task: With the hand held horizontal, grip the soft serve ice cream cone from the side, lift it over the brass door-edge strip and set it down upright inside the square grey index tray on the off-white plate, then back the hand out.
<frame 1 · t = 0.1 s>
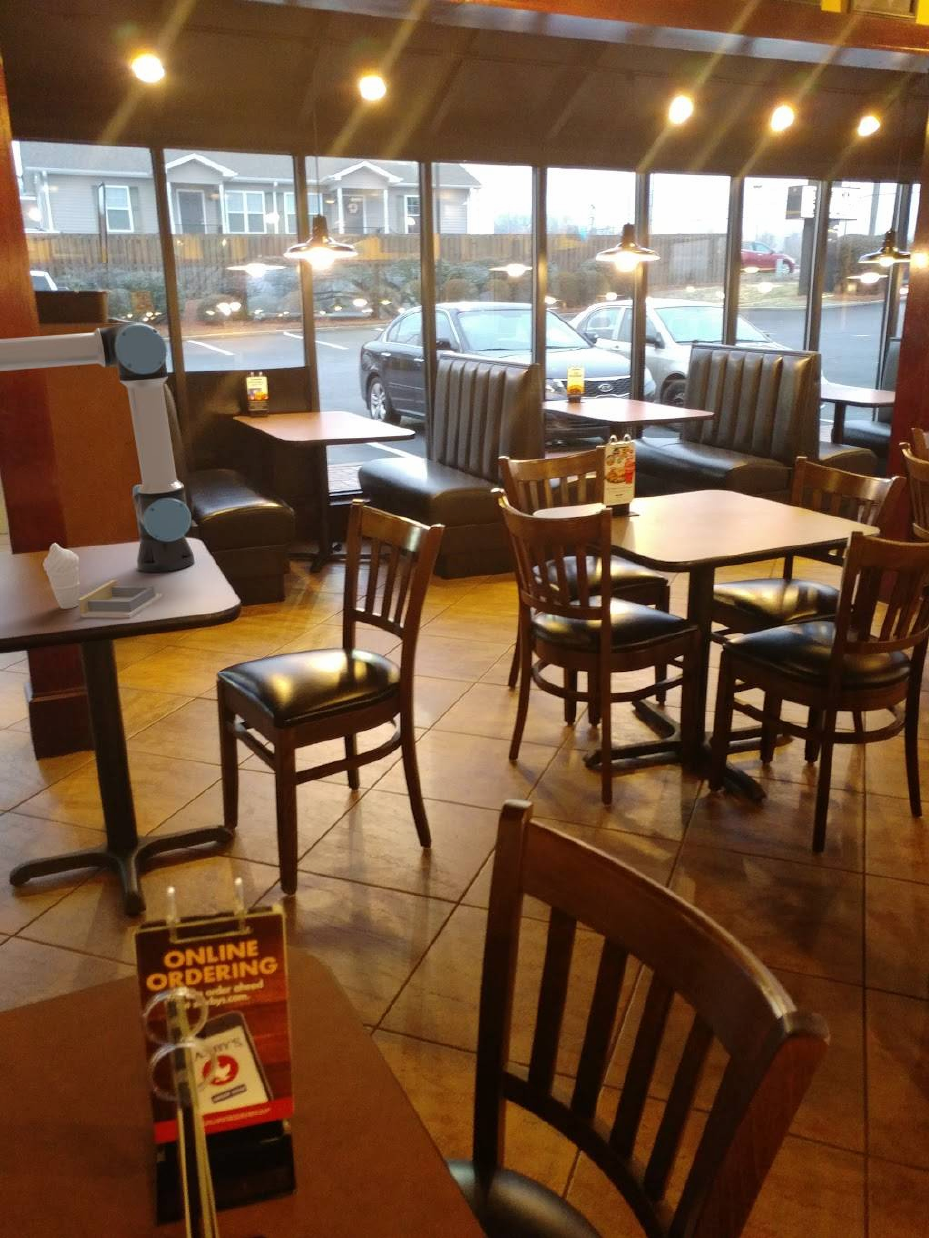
soft serve ice cream cone: (69, 606, 249), on the table
jamb plate: (121, 606, 247), on the table
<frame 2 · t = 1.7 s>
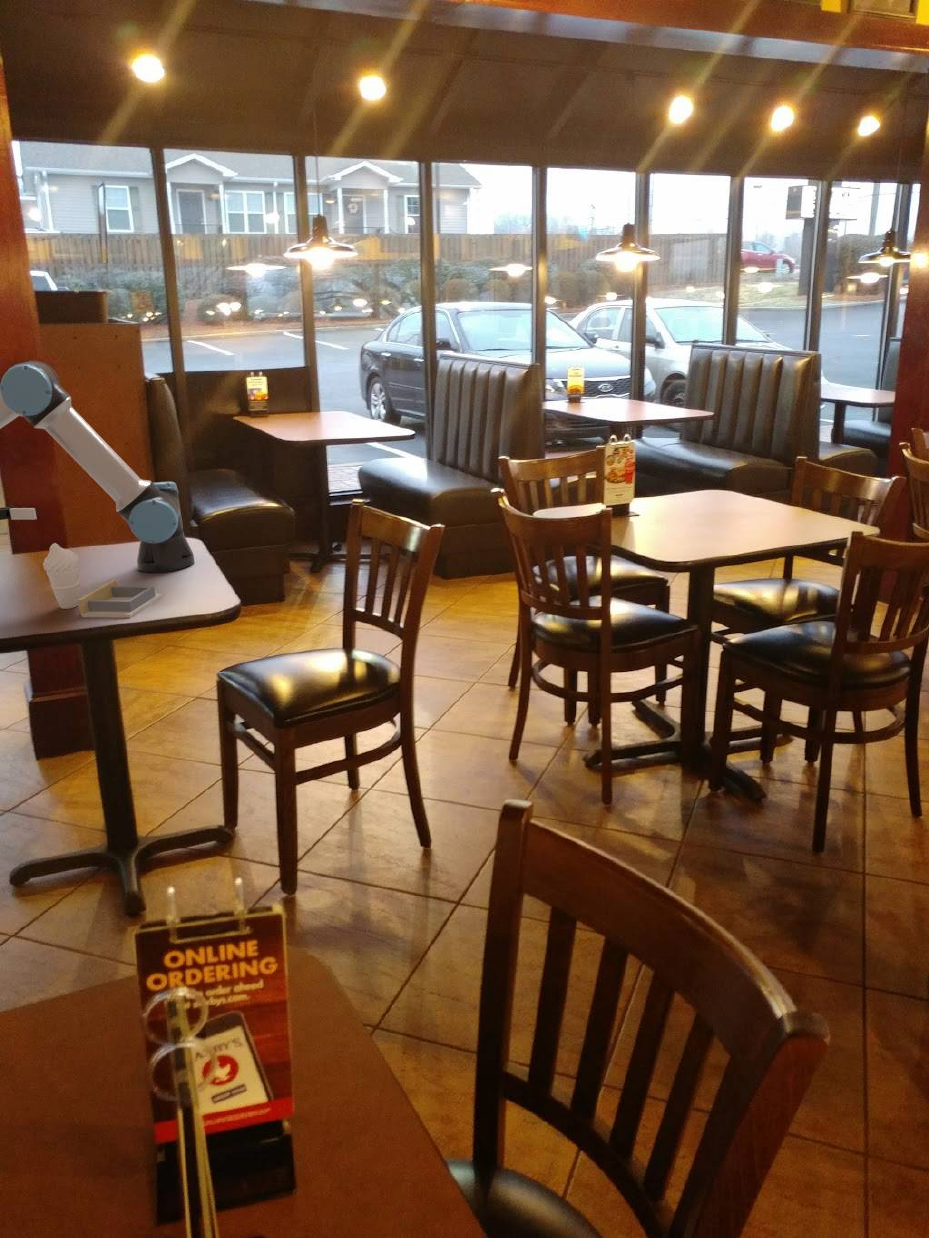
hand: (18, 520, 244), 22 cm above the table, tool horizontal, fingers open, 13 cm apart
nothing on the table moved.
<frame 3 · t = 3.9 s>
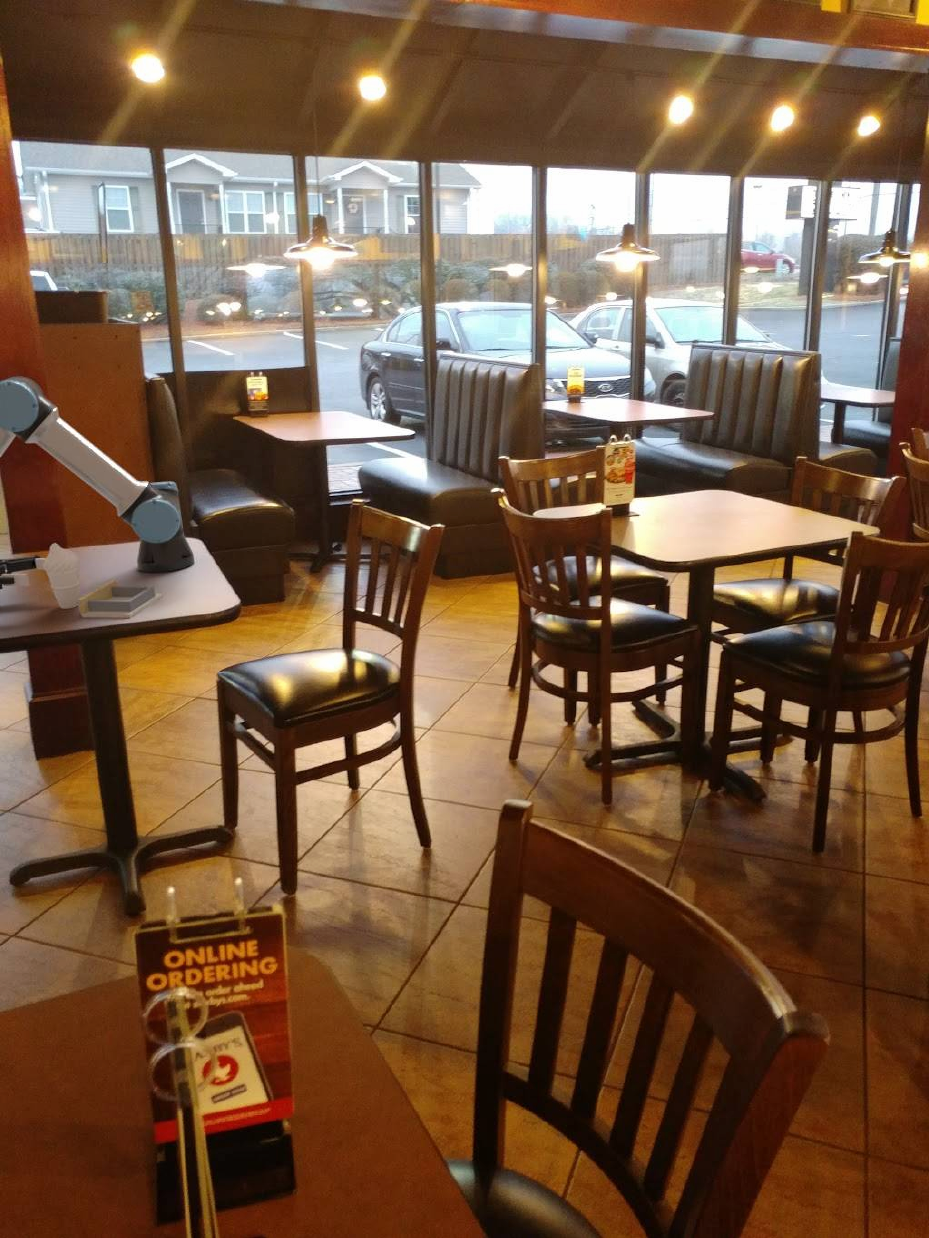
hand: (44, 571, 247), 9 cm above the table, tool horizontal, fingers open, 13 cm apart
nothing on the table moved.
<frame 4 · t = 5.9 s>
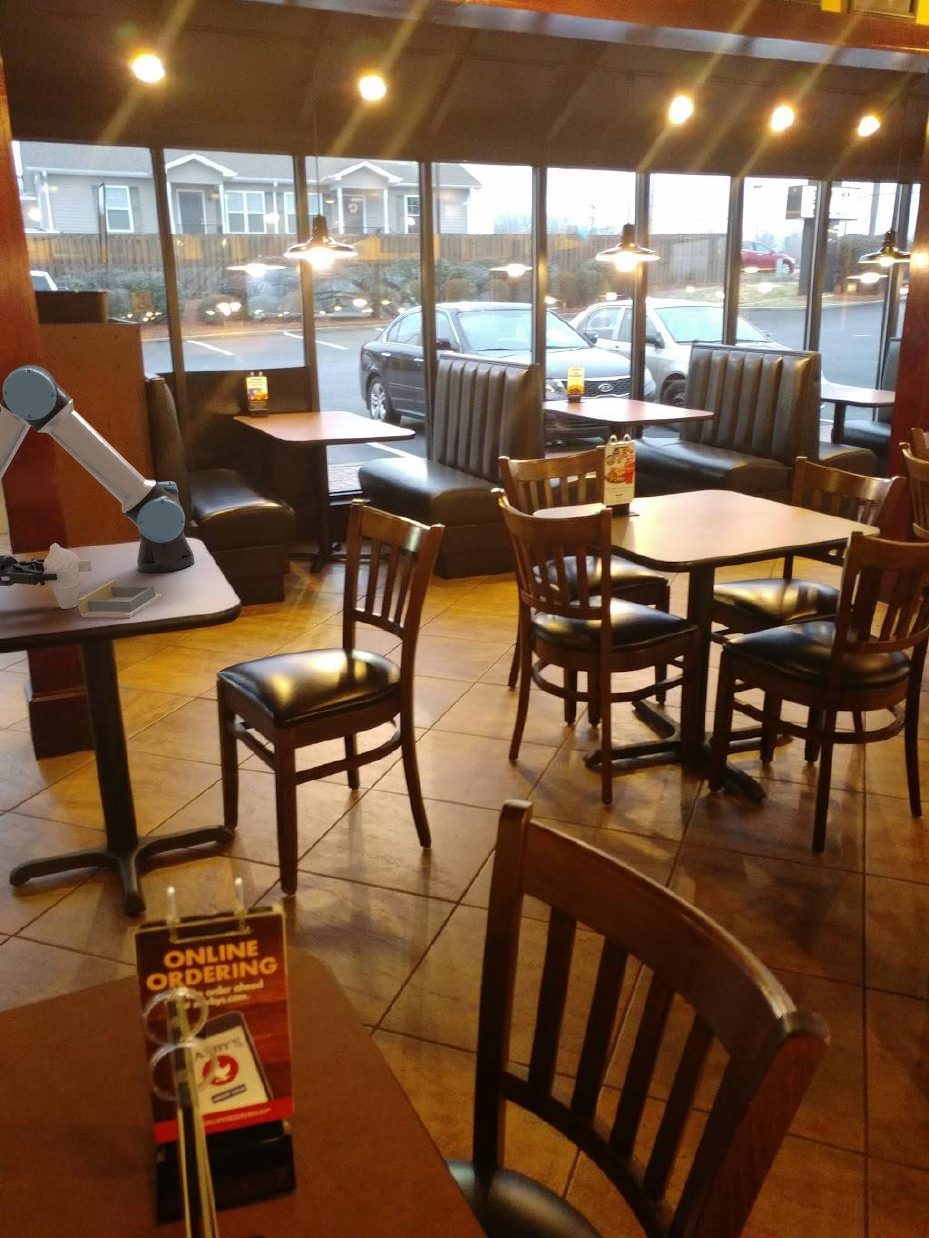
hand: (80, 570, 245), 9 cm above the table, tool horizontal, fingers closed on soft serve ice cream cone, 8 cm apart
soft serve ice cream cone: (69, 606, 249), on the table, touching gripper
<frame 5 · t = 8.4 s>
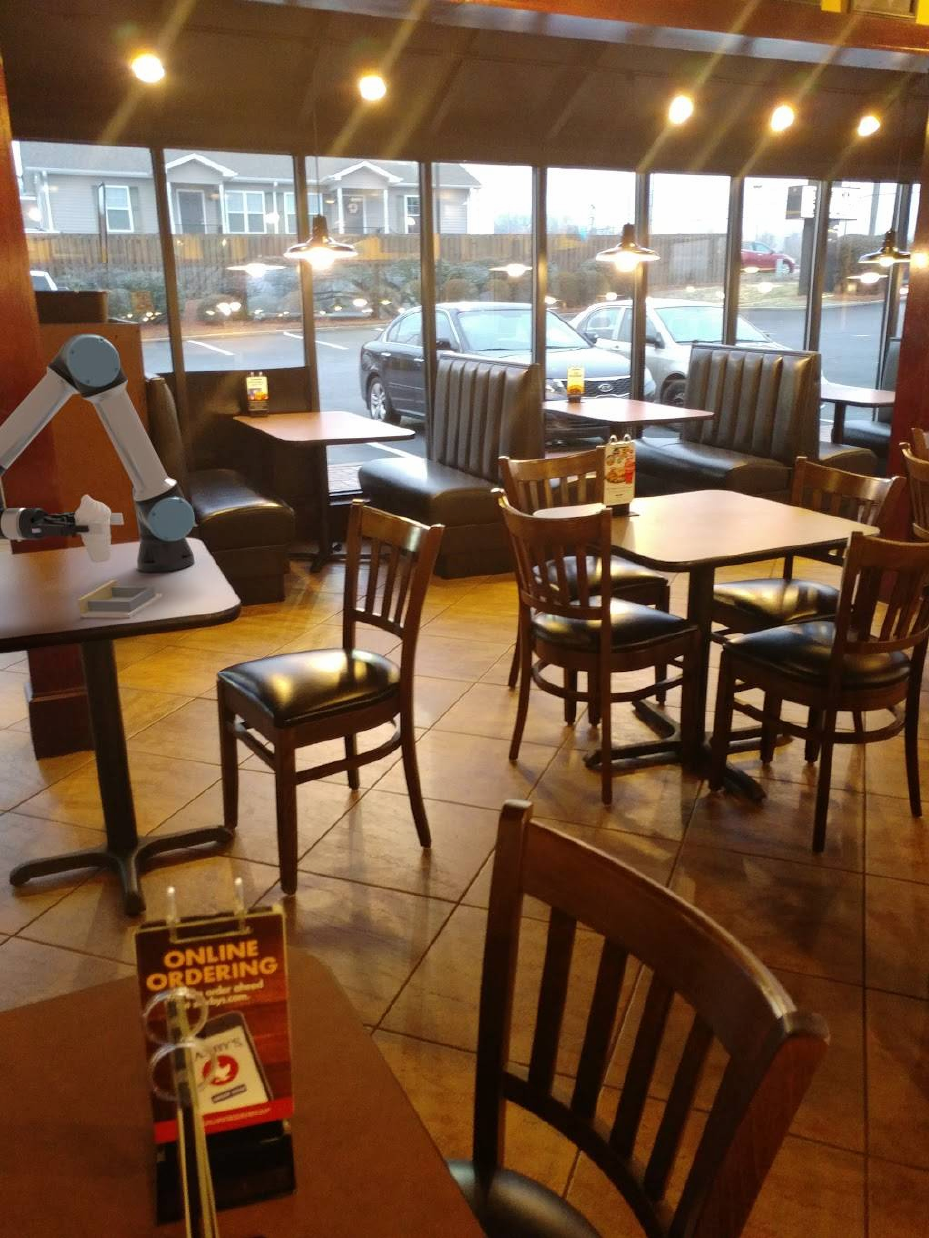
hand: (112, 523, 239), 21 cm above the table, tool horizontal, fingers closed on soft serve ice cream cone, 8 cm apart
soft serve ice cream cone: (100, 561, 243), point 12 cm above the table, touching gripper
when the fingers open (11 cm above the table, at t = 11.0 s): soft serve ice cream cone drops 1 cm, resting on jamb plate.
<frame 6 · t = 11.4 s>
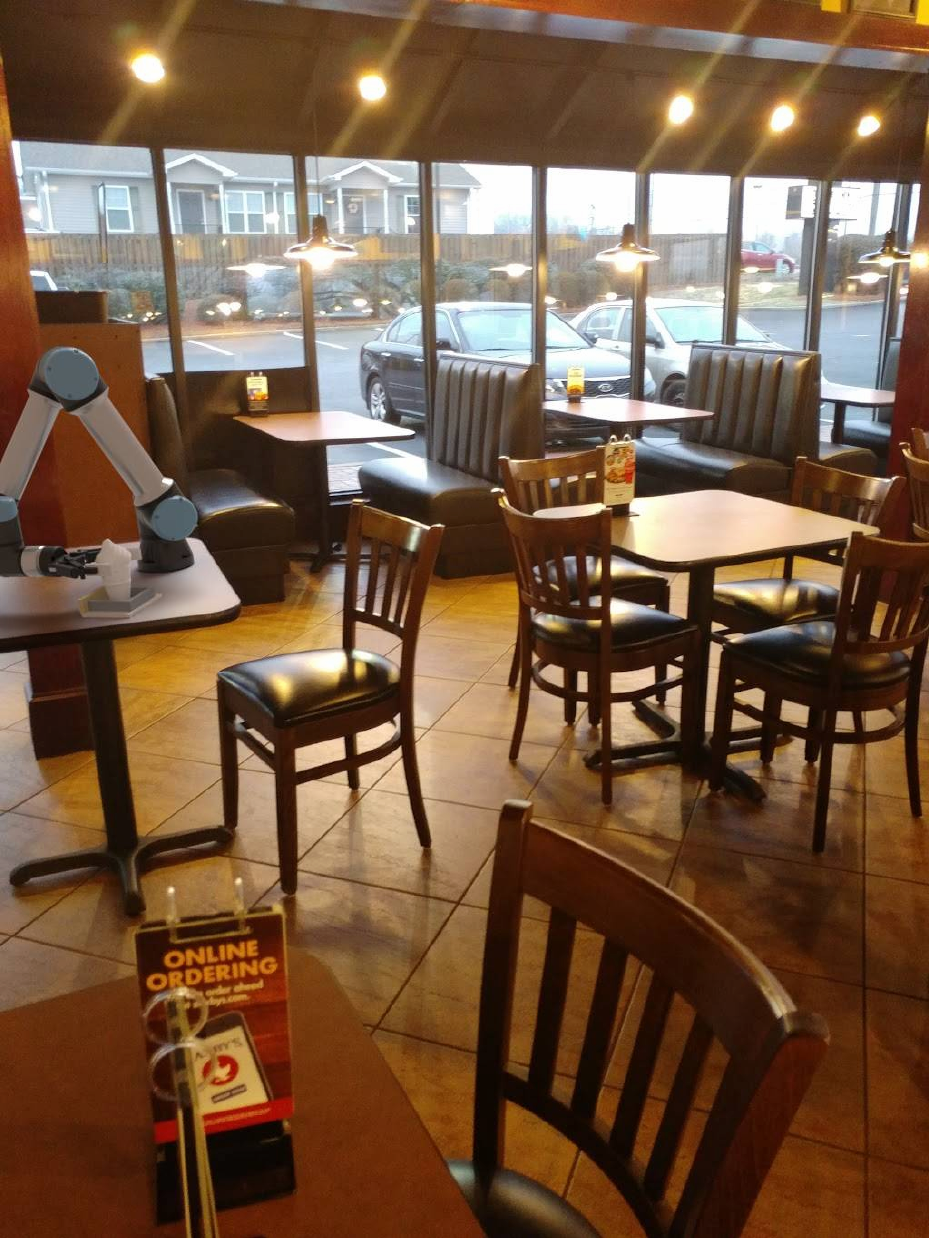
hand: (126, 561, 242), 11 cm above the table, tool horizontal, fingers open, 13 cm apart
soft serve ice cream cone: (120, 604, 246), point 1 cm above the table, touching jamb plate
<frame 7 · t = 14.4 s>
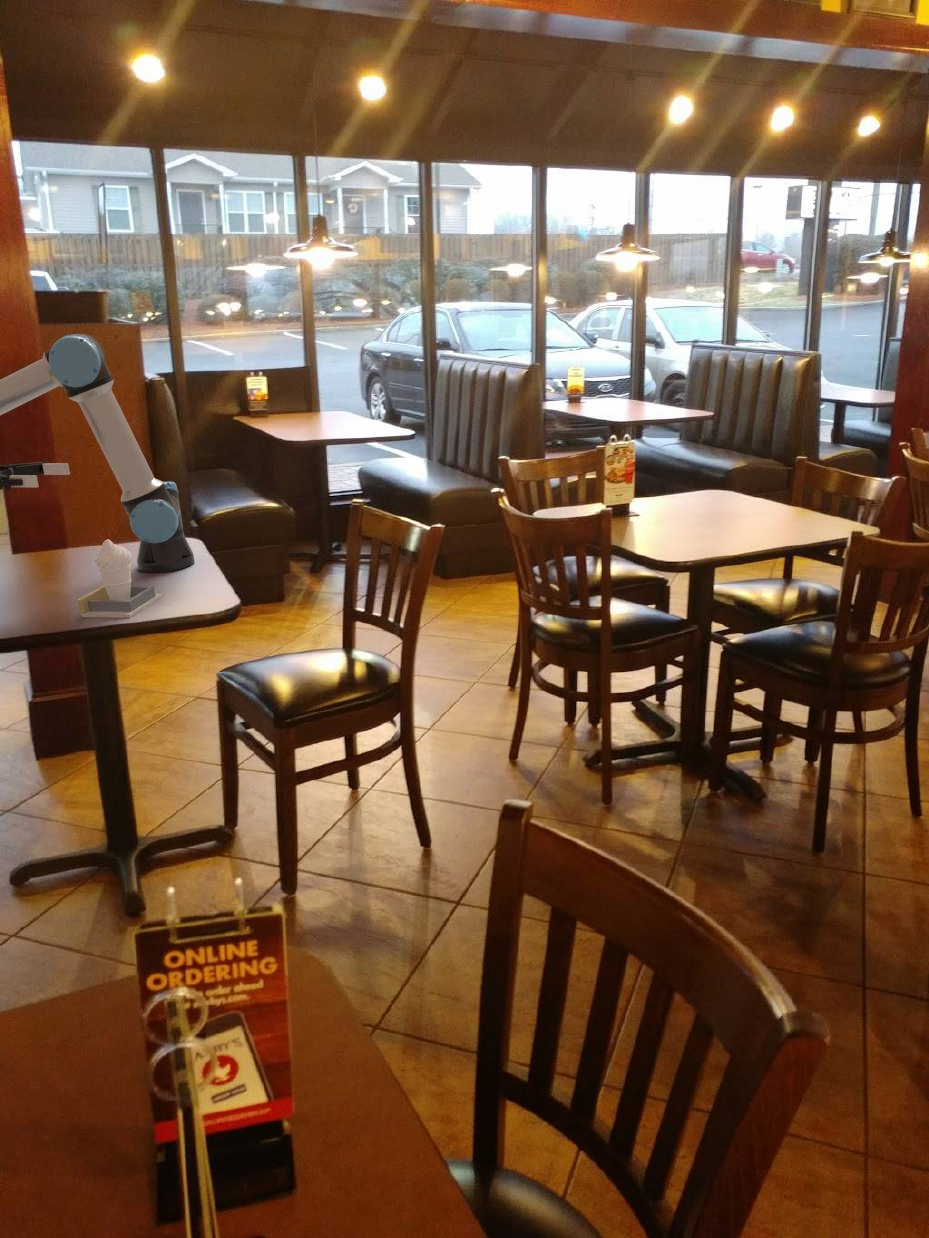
hand: (53, 475, 243), 32 cm above the table, tool horizontal, fingers open, 13 cm apart
nothing on the table moved.
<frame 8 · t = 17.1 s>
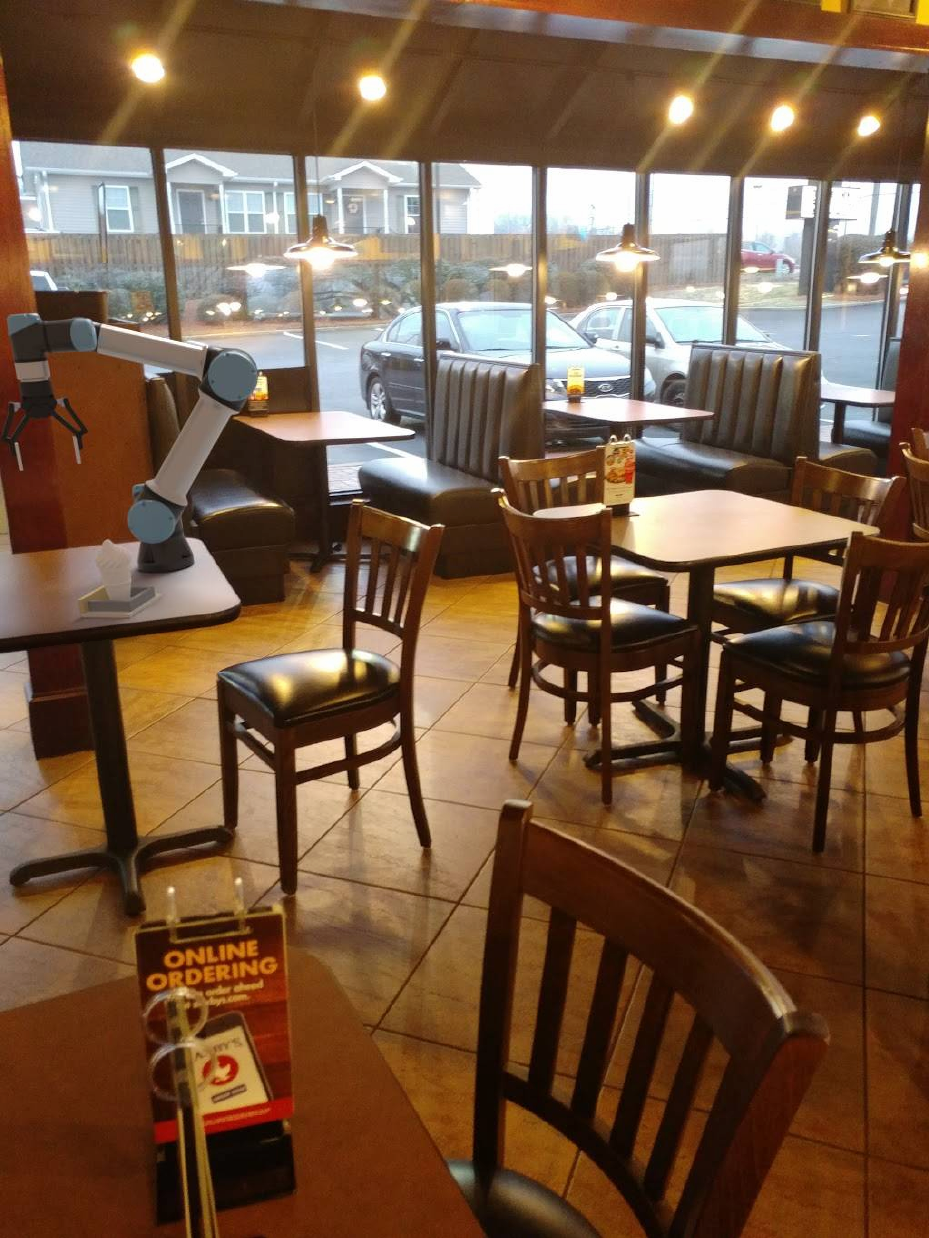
hand: (50, 466, 255), 32 cm above the table, tool pointing down, fingers open, 13 cm apart
nothing on the table moved.
at the end: soft serve ice cream cone inside the target area on the jamb plate (0.1 cm from its centre), point 0.6 cm above the jamb plate's base; soft serve ice cream cone tilted 0°; the gripper is holding nothing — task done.
